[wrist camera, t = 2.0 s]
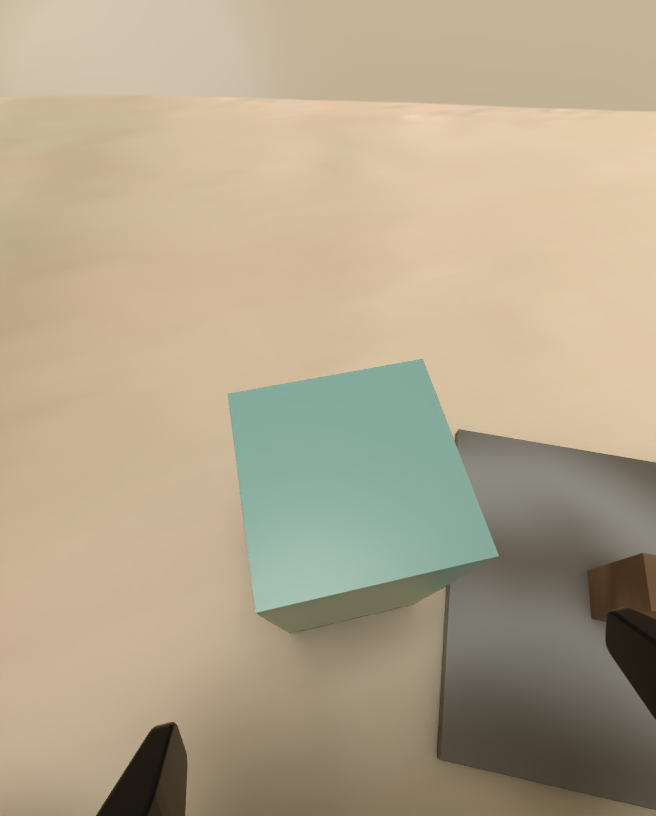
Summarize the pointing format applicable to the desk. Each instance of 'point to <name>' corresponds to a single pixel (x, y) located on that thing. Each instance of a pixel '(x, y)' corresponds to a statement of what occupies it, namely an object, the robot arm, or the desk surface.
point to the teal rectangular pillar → (352, 496)
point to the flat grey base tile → (551, 620)
